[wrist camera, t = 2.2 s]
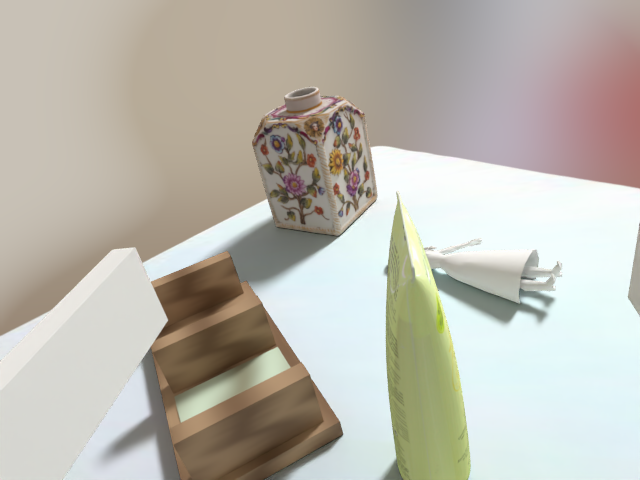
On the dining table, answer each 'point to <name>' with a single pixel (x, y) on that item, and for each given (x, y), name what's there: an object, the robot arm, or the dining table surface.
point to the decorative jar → (315, 162)
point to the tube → (421, 365)
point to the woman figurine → (494, 269)
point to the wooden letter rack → (232, 379)
